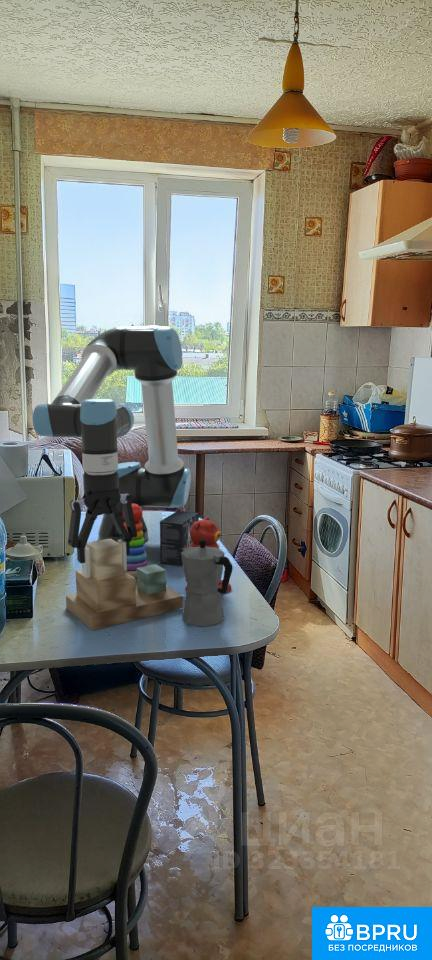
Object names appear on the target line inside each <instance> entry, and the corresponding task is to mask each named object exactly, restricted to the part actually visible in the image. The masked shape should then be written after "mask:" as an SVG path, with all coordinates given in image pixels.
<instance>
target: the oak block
mask: <svg viewBox="0 0 432 960" xmlns="http://www.w3.org/2000/svg"><path fill="white" fill-rule="evenodd" d="M85 547H87V548H88V549H89V564H90V576H92V577H93V578H95V579H96V580H97V581H98V580H103V579H108V578H113V577H118V576H123V560H122V545H121V544H119V543H118V542H116V541H114V540H112V539H111V538H110V539H104V540H99V539H98V540H94V541H87V544H86V546H85Z"/></svg>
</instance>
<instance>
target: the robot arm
mask: <svg viewBox="0 0 432 960" xmlns="http://www.w3.org/2000/svg"><path fill="white" fill-rule="evenodd" d="M182 366H183V348H182V343H181V340H180V337H179V334H178V333H177V331H176V330H175V328H173V327H171V326H160V325H142V326H141V325H139V326H138V325H136V326H125V325H124V326H116V327H113V328H111V329H110V328H109V329H108V330H106V331H104V332H102V333H100V334H98V335H97V336H96V337H94V338H93V339H92V340H91V341H89V343H88V344H87V345H86V346H85V347H84V349H83V351H82V353H81V361H79V363H78V365H77V366H76V368H75V369H74V371H73V372H72V374H71V375H70V376H69V378H68V379H67V380H66V382H65V384H64V385H63V386H62V388H61V390H60V391H59V392H58V394H57V395H56V396H55V398H54V400H52V402H51V403H47V402H46V403H39V404H38V405H36V406H35V407H34V410H33V411H32V421H31V422H32V427H33V429H34V432H35V433H36V435H38V436H40V437H49V438H53V439H54V438H81V452H82V453H81V457H82V459H81V460H82V471H84V473H83V475H82V481H83V482H82V483H83V496H82V498H80V499H78V500H73V499H72V500H71V501H70V502H69V506H70V509H71V514H70V522H69V531H68V537H67V538H68V539H67V545H69V547H71V548H73V549H76V555H77V556H76V557H77V562H78V564H79V563H80V564H81V569H82V575H83V576H84V577H86V578H90V564H89V549H88V548H87V547H86V544H87V542H89V541H88V540H89V538H90V535H91V532H92V530H93V527H94V524H95V522H96V520H98V519H97V518H98V516H102V518H101V522H100V526H99V529H98V533H97V534H98V538H97V539H98V541H99V540H104V539H110V538H111V539H112V540H114V541H116V542H118V543H119V544H121V545H122V560H123V571H126V570H127V559H126V555H129V553H130V546H129V542H131V540H132V538H133V537H137V530H136V525H135V520H134V515H133V510H132V504H137V505H139V506H140V507H141V509H142V510H143V507H145V508H146V507H149V508H150V507H151V508H169V509H172V508H183V507H184V506H185V505H186V503H187V502H188V498H189V493H190V489H191V481H192V480H191V479H192V478H191V477H192V473H191V469H190V468H185V463H184V461H183V459H181V458H180V457H179V452H178V450H179V449H178V439H177V438H178V437H177V427H176V425H177V424H176V414H175V413H176V412H175V400H174V389H173V388H174V387H173V386H174V385H173V381H174V379H175V378H176V377H177V375H178V371H179V370H181V369H182ZM120 370H121V371H122V370H127V371H134V377H135V379H136V380H137V381H138V382H140V383H141V393H142V403H143V412H144V422H145V423H144V424H145V425H144V426H145V430H146V432H145V433H146V444H147V445H146V446H147V450H148V451H147V453H148V460H146V462H145V463H144V467H142V465H141V463H140V462H139V461H137V462H136V461H130V462H128V461H127V462H121V463H119V458H118V457H119V455H118V453H119V452H118V438H121V437H124V436H126V435H127V434H128V433H129V432H130V431H131V430H132V428H133V427H134V424H135V418H134V417H135V416H134V413H133V411H132V410H131V408H130V407H129V406H127V405H126V404H124V403H119V402H117V403H116V401H115V400H113V399H111V398H94V397H95V396H96V394H97V393H98V391H99V389H100V388H101V386H102V385H103V384H104V381H105V380H106V378H107V377H109V376H111V375H112V374H114V372H115V371H120ZM84 506H86V508H87V509H86V511H85V518H84V520H83V523H82V525H81V518H82V510H83V508H84ZM123 512H124V517H125V519H124V517H123ZM143 515H144V514H142V518H141V519H140V520H139V522H141V523H142V525H143V527H142V529H141V530H142V531H143V536H142V537H143V538H144V540H145V541H144V542H146V541H147V540H148V539H149V530H148V526H147V524H146V521H145V518H144V516H143ZM125 522H126V526H127V530H126V528H125V526H124V523H125ZM80 525H81V529H80ZM127 531H128V532H127ZM121 539H122V540H121Z"/></svg>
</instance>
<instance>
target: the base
mask: <svg viewBox="0 0 432 960" xmlns="http://www.w3.org/2000/svg"><path fill="white" fill-rule="evenodd" d="M75 587H76V588H75V592H76V593H69V594H66V595H65V604H66V609H67V611H70V612H71V614H73V615H74V616H75V617H76V618H77V619H79V620H80V621H81V622H82V623H83V624H85V626H86V627H88V628H89V629H90V630H91V631H96V630H101V629H105V628H109V627H113V626H117V625H120V624H125V623H129V622H132V621H133V622H134V621H137V619H138V620H140V619H141V618H142V619H146V618H150V617H153V616H157V615H161V614H166V613H170V612H174V611H178V610H181V609H182V610H183V609H184V595H182V594H181V593H179V592H177V591H176V590H174V589H173V588H171V587H169V586H168V585H167V570H166V569H165V568H163V567H161V566H159V565H158V564H156V563H155V564H151V565H150V564H149V565H146V566H144V567H139V568H137V578H135V577H133V576H131V575H130V574H128V573H127V572H125V571H123V576H118V577H113V578H108V579H103V580H98V581H97V580H96V579H95V578H93V577H92V576H90V578H86V577H84V576H83V575H82V568H80V569H77V570H75ZM142 619H141V620H142ZM128 621H129V622H128Z"/></svg>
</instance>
